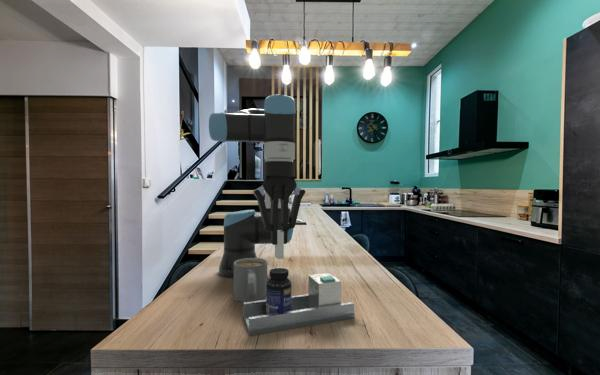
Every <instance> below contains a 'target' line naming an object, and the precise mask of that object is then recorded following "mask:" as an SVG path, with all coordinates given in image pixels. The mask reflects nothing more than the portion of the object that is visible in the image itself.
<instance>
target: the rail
mask: <svg viewBox="0 0 600 375" xmlns="http://www.w3.org/2000/svg"><path fill="white" fill-rule="evenodd" d="M242 317H243V320H244V323H245V324H244V325H245V326H246V329H247V332H248V336H249V337H251V336H256V335H263V334H267V333H274V332H279V331H286V330H291V329H297V328H303V327H304V328H305V327H309V326H315V325H322V324H326V323H334V322H339V321H344V320H350V319H351V320H352V319H355V303H354V302H353V301H350V302H349V301H348V302H343V303H342V281H341V280H340V279H339V278H337V277H336V276H334V275H333V274H331V273H329V272H326V273H317V274H308V292H307V294H305V293H304V294H299V295H291V311H288V312H281V313H274V314H268V315H267V314H266V299H262V300H259V301H251V302H243V303H242Z"/></svg>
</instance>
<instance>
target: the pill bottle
mask: <svg viewBox="0 0 600 375" xmlns="http://www.w3.org/2000/svg"><path fill="white" fill-rule="evenodd" d="M268 273H269V278H270V279H267V284H266V287H267V288H266V297H265V298H266V299H265V300H266V314H267V315H268V314H274V313H281V312H288V311H291V296H292V281H291V280H290V279H289V274H290V273H289V269H287V268H284V267H276V268H275V267H274V268H270V270H269V272H268Z"/></svg>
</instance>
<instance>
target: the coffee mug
mask: <svg viewBox="0 0 600 375" xmlns="http://www.w3.org/2000/svg"><path fill="white" fill-rule="evenodd" d="M267 281H268V260H267V259H265V258H261V257H260V258H259V257H257V258H244V259H239V260H236V261H235V262H234V277H233V298H234V300H235V301H238V302H240V303H241V302H243V303H244V302H251V301H259V300H265V298H266V288H267V287H266V284H267Z"/></svg>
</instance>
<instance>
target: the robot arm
mask: <svg viewBox="0 0 600 375" xmlns="http://www.w3.org/2000/svg"><path fill="white" fill-rule="evenodd" d="M296 112H297V111H296V101H295V99H294V98H293V97H292V96H289V95H285V94H272V95H271V94H270V95H269V96H267V97H266V98H265V99H264V107H263V108H248V109H242V110H237V111H235V112H231V113H230V112H229V113H227V112H218V113H217V112H213V113H211V114H210V115H209V119H208V132H209V137H210V139H211V140H212V141H215V142H222V143H224V142H235V143H236V142H241V143H243V142H244V143H245V142H246V143H261V144H263V145H264V146H263V147H264V148H263V149H264V150H263V153H264V154H263V158H264V163H263V181H262V182H261V183H262V184H261V186H259V187H257V188H256V189H253V191H252V193H253V196H254V197H255V198H256V201H257V204H258V209H259V213H256V210H255V209H245V210H239V211H233V212H229V213H226V214H225V216H224V217H223V219H224V220H223V226H222V227H223V253H222V254H223V255H222V257H221V260H220V262H219V267H218V274H219V275H220V276H222V277H225V278H234V262H235V261H236V260H239V259H244V258H258V256H257V253H256V245H265V244H266V245H270V244H271V245H273V246H274V258H276V259H277V260H280V259H281V260H282V259H283V260H284V256H285V253H284V252H285V246H284V245H286V244H288V243H290V242H291V241H292V239H293V234H294V229H295V227H296V225H297V219H298V215H299V211H300V206H301V201H302V199H303V198H304V195H305V194H306V190H305V189H302V188H300V187H299V186H298V185H297V182H296V163H295V162H294V160H296V142H295V141H296V137H295V136H296V114H297V113H296ZM292 194H294V197H293V200H292V204H291V207H290V206H289V203H290V197H291V195H292Z"/></svg>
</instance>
